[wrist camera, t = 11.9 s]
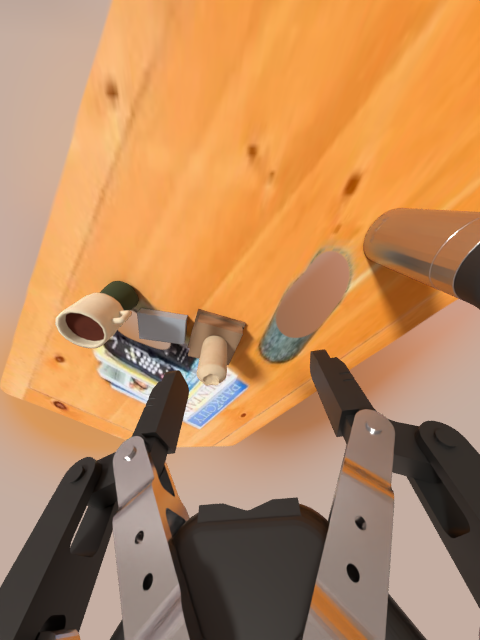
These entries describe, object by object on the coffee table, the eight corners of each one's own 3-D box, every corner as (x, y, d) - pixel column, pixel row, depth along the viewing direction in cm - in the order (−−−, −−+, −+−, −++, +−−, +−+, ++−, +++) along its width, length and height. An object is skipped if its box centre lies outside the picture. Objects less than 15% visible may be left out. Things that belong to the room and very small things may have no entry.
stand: (245, 322, 44) (246, 332, 40) (230, 355, 49) (230, 367, 46) (198, 308, 41) (195, 318, 38) (188, 345, 47) (184, 356, 44)
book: (187, 315, 42) (185, 320, 41) (185, 339, 46) (183, 344, 44) (141, 307, 41) (137, 312, 39) (143, 333, 44) (139, 338, 43)
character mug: (105, 310, 41) (59, 350, 30) (89, 279, 37) (30, 312, 26) (155, 307, 41) (127, 346, 30) (144, 275, 37) (107, 307, 26)
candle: (232, 343, 42) (232, 379, 34) (217, 357, 44) (213, 394, 36) (212, 330, 40) (207, 365, 31) (197, 345, 42) (189, 382, 34)
